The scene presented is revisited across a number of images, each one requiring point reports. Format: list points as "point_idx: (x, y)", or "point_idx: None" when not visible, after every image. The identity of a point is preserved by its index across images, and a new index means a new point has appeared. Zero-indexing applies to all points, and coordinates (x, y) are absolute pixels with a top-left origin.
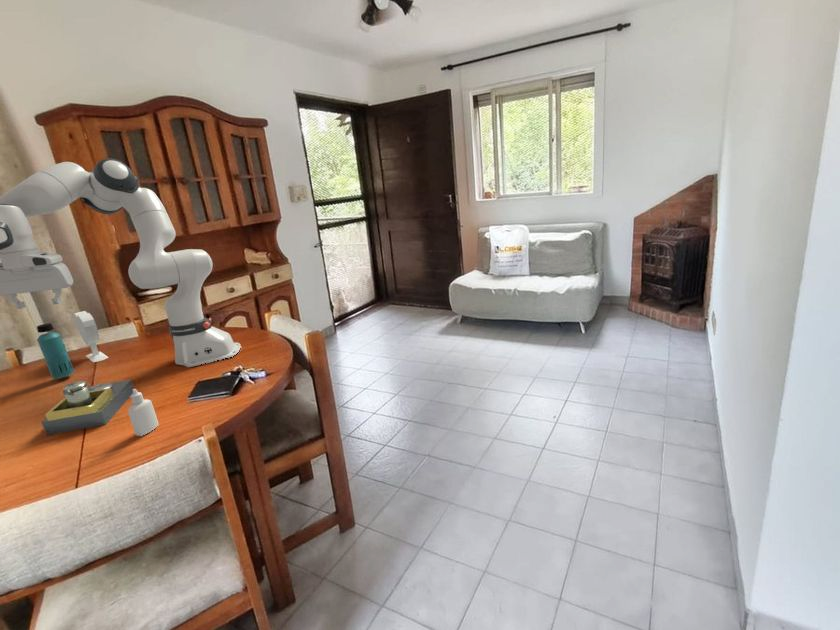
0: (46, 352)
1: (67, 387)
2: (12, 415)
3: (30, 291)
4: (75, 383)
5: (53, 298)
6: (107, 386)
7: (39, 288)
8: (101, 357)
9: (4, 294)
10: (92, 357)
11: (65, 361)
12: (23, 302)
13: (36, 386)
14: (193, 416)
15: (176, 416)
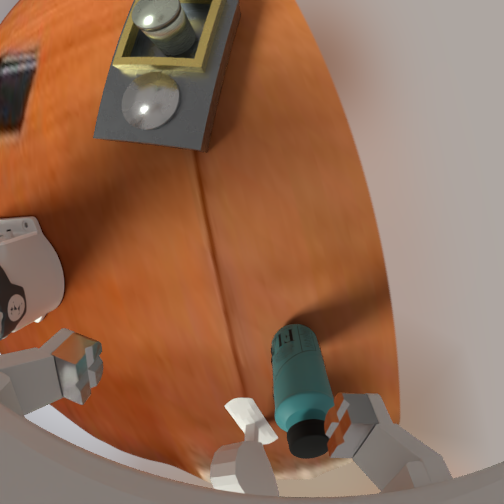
0: (314, 368)
1: (167, 1)
2: (352, 161)
3: (183, 487)
4: (152, 17)
5: (67, 373)
6: (128, 101)
7: (39, 455)
8: (238, 410)
9: (472, 477)
10: (258, 420)
11: (278, 352)
12: (332, 445)
13: (345, 322)
14: (43, 9)
15: (57, 12)
